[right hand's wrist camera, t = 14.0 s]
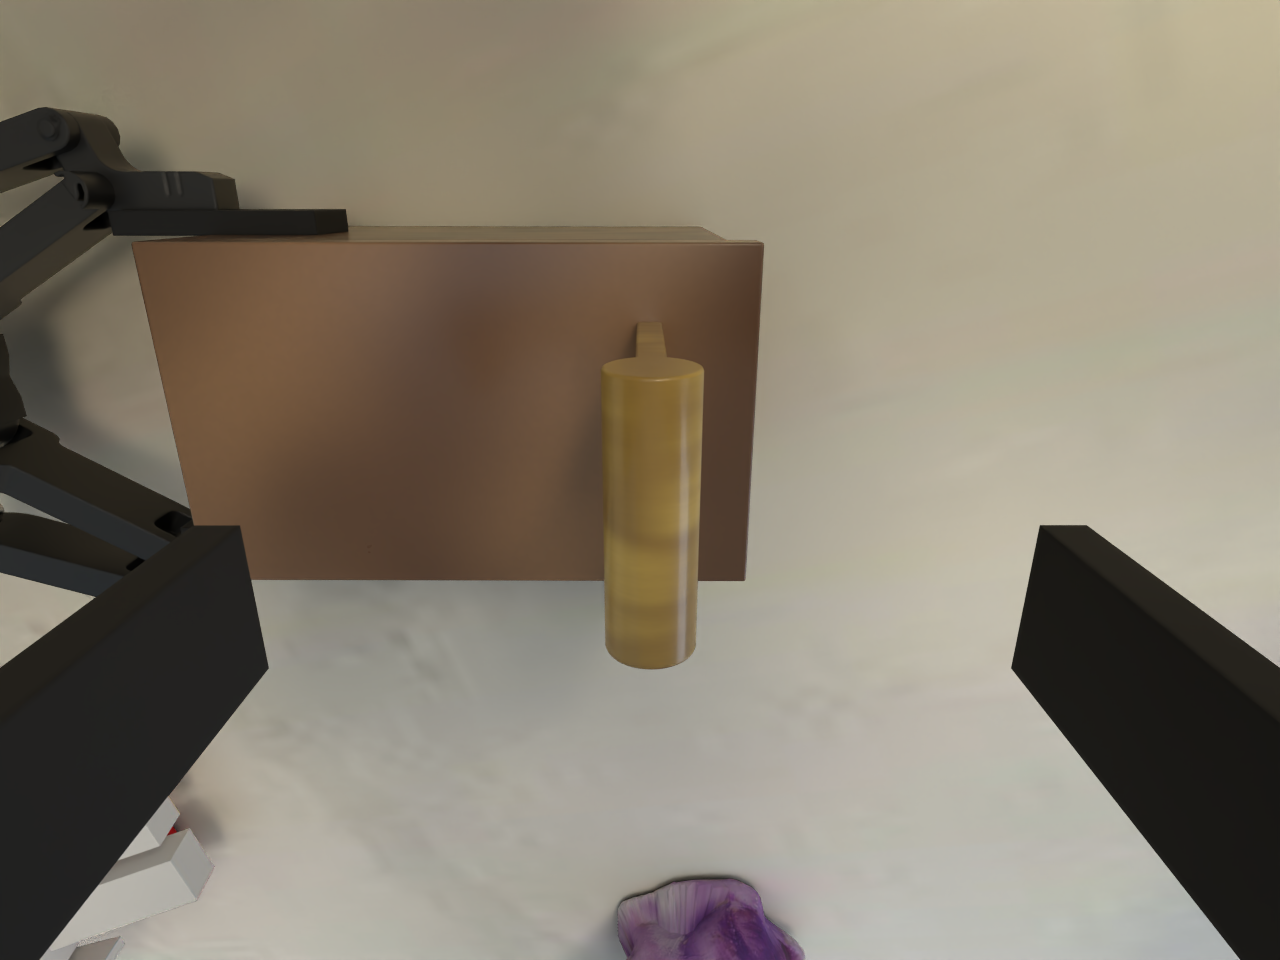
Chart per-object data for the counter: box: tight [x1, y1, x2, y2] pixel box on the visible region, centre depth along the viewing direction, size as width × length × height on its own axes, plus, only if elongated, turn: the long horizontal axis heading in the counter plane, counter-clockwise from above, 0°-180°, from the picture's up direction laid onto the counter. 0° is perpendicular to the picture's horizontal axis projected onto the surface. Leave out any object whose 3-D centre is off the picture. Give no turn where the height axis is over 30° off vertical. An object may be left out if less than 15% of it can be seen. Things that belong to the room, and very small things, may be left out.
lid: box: [132, 240, 764, 669], centre depth 19 cm, size 17×10×9 cm, turn 90°
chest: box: [161, 226, 725, 240], centre depth 28 cm, size 16×10×10 cm, turn 90°
